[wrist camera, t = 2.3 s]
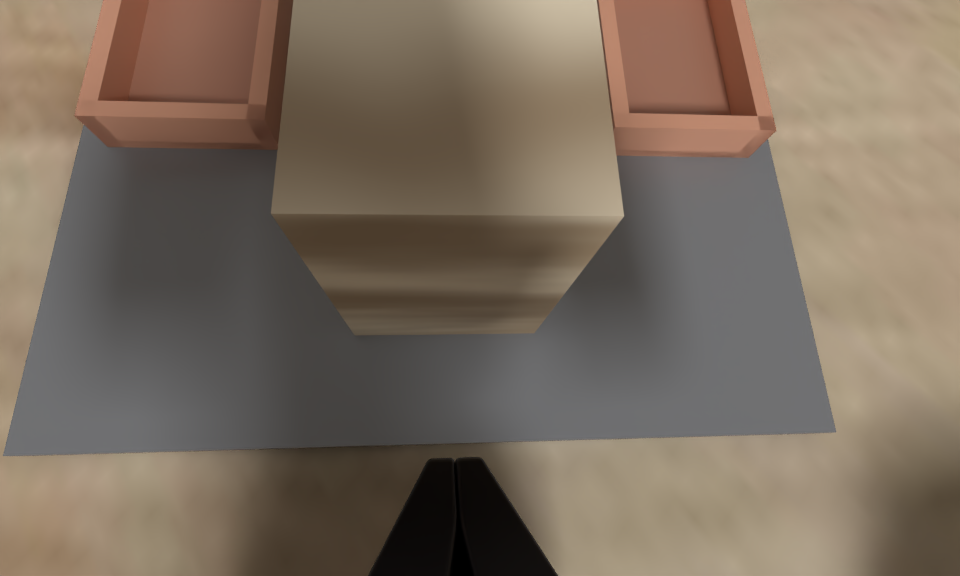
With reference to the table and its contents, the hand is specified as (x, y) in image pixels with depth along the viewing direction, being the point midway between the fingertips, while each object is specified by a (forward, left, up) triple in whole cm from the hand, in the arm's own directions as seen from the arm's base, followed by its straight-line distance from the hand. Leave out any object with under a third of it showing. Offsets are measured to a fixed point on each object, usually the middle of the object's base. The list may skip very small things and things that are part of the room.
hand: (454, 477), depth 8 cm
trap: (+8, +16, -8) cm, 20 cm away
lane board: (+13, +9, -9) cm, 18 cm away
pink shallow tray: (+18, +2, -8) cm, 20 cm away
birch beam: (+10, +7, -8) cm, 15 cm away
